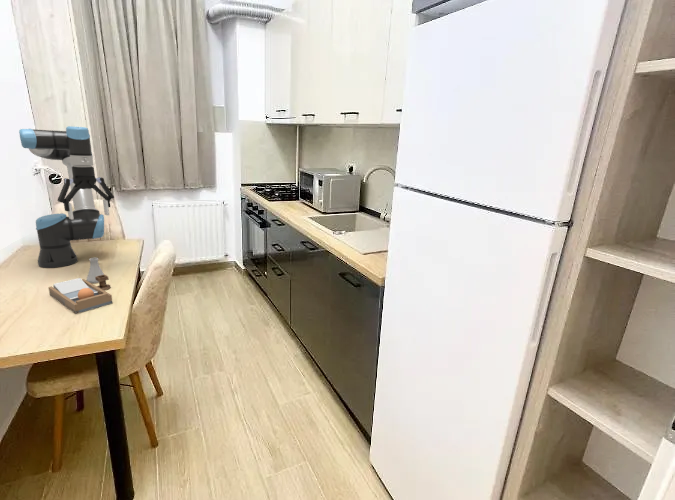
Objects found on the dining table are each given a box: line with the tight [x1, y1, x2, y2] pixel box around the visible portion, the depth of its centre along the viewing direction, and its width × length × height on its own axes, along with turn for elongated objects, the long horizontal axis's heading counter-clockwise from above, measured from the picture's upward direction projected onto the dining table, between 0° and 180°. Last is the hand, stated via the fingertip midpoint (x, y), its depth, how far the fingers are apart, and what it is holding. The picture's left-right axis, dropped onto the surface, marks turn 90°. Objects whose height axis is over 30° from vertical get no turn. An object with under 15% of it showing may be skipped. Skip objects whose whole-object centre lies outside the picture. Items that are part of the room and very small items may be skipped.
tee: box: [95, 274, 111, 291], centre depth 147 cm, size 5×5×5 cm
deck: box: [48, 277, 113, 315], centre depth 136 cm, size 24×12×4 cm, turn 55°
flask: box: [85, 257, 105, 284], centre depth 154 cm, size 7×7×10 cm
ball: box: [78, 288, 94, 300], centre depth 133 cm, size 5×5×5 cm
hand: (89, 216), depth 153 cm, fingers open, 13 cm apart
